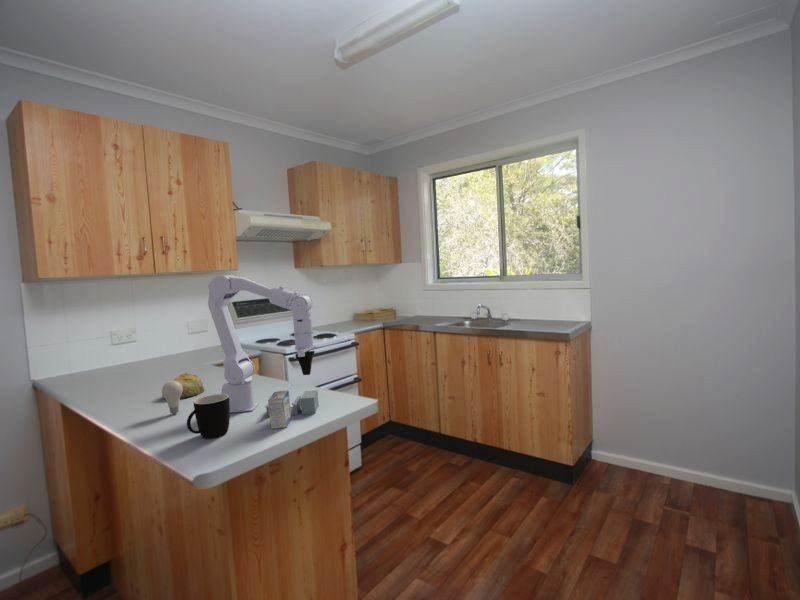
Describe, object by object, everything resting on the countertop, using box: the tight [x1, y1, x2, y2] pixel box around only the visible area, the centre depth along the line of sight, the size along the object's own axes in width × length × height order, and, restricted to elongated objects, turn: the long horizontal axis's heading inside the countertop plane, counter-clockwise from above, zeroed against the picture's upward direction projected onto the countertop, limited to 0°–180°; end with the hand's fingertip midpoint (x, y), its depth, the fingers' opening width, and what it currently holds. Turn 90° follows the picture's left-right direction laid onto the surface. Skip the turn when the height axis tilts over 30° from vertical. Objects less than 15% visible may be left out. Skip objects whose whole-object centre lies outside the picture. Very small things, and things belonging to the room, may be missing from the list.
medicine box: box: [267, 390, 292, 430], centre depth 122 cm, size 8×4×9 cm, turn 5°
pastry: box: [161, 373, 206, 400], centre depth 161 cm, size 14×12×8 cm
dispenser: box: [264, 389, 319, 418], centre depth 133 cm, size 15×9×5 cm, turn 93°
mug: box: [186, 393, 231, 440], centre depth 116 cm, size 12×9×10 cm
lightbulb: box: [161, 380, 183, 415], centre depth 138 cm, size 6×6×11 cm
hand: (306, 374), depth 137 cm, fingers closed
